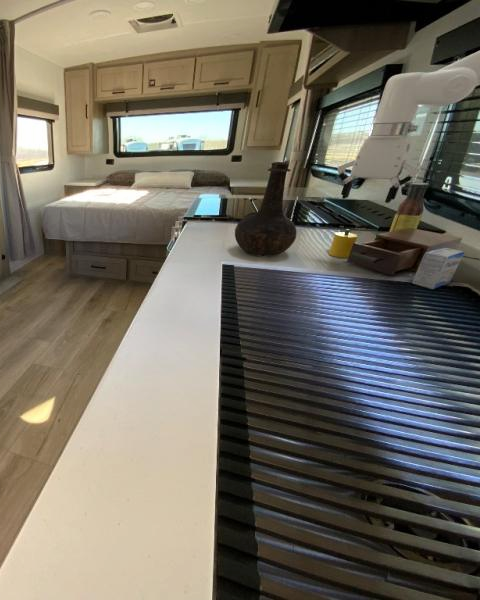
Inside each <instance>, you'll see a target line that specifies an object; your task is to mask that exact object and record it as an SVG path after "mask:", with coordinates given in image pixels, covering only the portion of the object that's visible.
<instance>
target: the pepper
mask: <svg viewBox="0 0 480 600" xmlns="http://www.w3.org/2000/svg"><path fill="white" fill-rule="evenodd" d="M357 239H358V234H356V233H352V232H351V230H350V228H347V229H345V231H341V232H340V231H339V232H335V233H334V235H333V239H332V242H331V246H330V249H329V251H328V254H329V255H330V256H332V257H334V258H341V259H343V258H344V259H348V257H349V255H350V252H351V249H352V246H353V243H356V241H357Z"/></svg>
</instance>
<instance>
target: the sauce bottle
mask: <svg viewBox="0 0 480 600" xmlns="http://www.w3.org/2000/svg"><path fill="white" fill-rule="evenodd" d="M428 188H429V183H426V182H411V183H410V184H409V191H408V193H407V195H406V197H405V199H404V200H403V201H402V202H400V203H399V205H398V208H397V210H396V212H395V215H394V218H393V219H392V224H391V225H390V228H389V231H388V232H391V231H396V230H401V229H406V228H413V229H418V227H419V224H420V221H421V219H422V216H423V213H424V196H425V193H426V190H427V189H428Z"/></svg>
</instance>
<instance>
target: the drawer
mask: <svg viewBox="0 0 480 600" xmlns="http://www.w3.org/2000/svg"><path fill="white" fill-rule="evenodd" d="M423 249H424V248H422V247H417V246H413V245H409V244H404V243H400V242H395V241H391V240H387V239H379V240H375V239H374V240H370V241H364V242H361V243H360V242H355V243H353V246H352V249H351V252H350V255H349V257H348V258H347V261H346V262H347V263H349V264H353V265H355V266H356V265H357V266H359V267H363V268H366V269H369V270H373V271H376V272H379V273H382V274H386V275H389V276H394V275H395V272H398V271H402V270H407V269H406V268H410V267H414V266H416V264H417V262H418V260H419V258H420V256H421V253H422V251H423Z"/></svg>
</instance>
